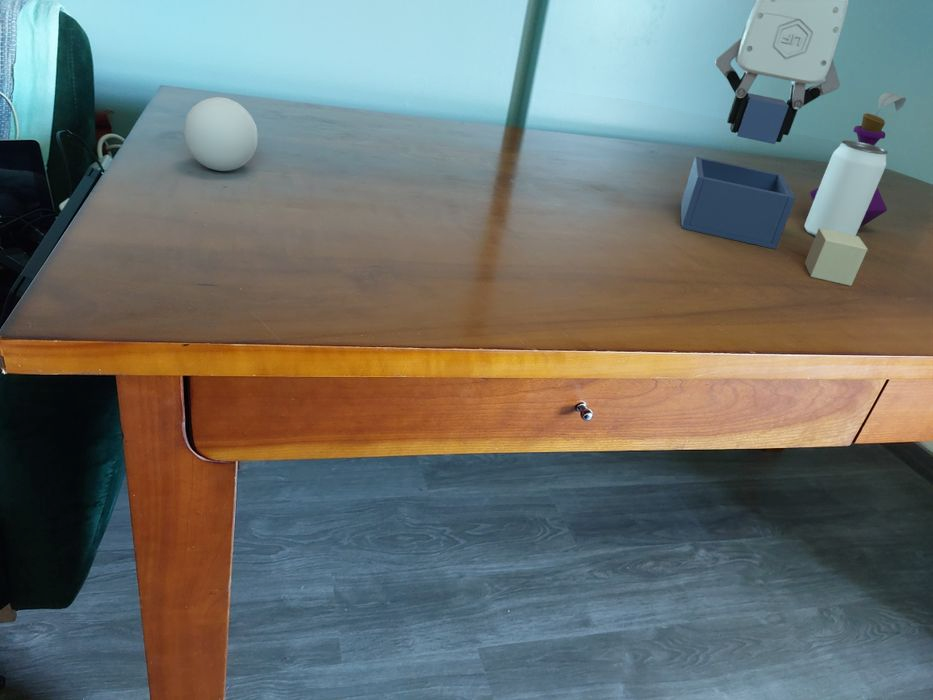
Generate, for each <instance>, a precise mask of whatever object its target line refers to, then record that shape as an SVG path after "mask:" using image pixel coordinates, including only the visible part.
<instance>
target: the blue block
mask: <svg viewBox="0 0 933 700" xmlns="http://www.w3.org/2000/svg"><path fill="white" fill-rule="evenodd" d="M747 93H748V96H747V100H748V103H747V106H746V109H745V112H744V115H743V118H742V121H741V124H740V127H739V130H738V132H736V133H735V135H736V136H737V137H739V138H744V139H748V140H754V141H757V142H758V141H759V142H763V143H767V144H772V145H775V144H776V140H777V137H778V134H779V132H780V129H781V126H782V123H783V121H784V118H785V115H786V112H787V110H788V107H789V106H788V105H787V104H786V103H787V101H785V100H784V99H779V98H775V97H769V96H765V95H759V94H755V93H751V92H747Z"/></svg>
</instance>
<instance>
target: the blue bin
mask: <svg viewBox="0 0 933 700" xmlns="http://www.w3.org/2000/svg"><path fill="white" fill-rule="evenodd" d="M795 201H796V196H795V194H794V192H793V191H792V188H791V187H790V185H789V183H788V180H786V178H785V176H784V174H781V173H778V172H777V173H776V172H772V171H768V170H762V169H757V168H753V167H747V166H743V165H738V164H733V163H729V162H724V161H719V160H716V159H715V160H714V159H710V158H705V157H700V156H694V159H693V163H692V166H691V170H690V173H689V175H688V180H687V183H686V186H685V189H684V192H683V196H682V199H681V202H680V207H681V208H680V213H681V214H680V216H681V219H680V220H681V229H683V230H688V231H692V232H697V233H701V234H705V235H709V236H713V237H714V236H715V237H718V238H723V239H728V240H733V241H736V242H741V243H745V244H750V245H754V244H755V245H754V246H759V247H762V248H767V247H768V248H769V249H772V250H777V248H778V245H779V243H780V240H781V237H782V235H783V232H784V229H785V228H786V224H787V222H788V219H789V216H790V214H791V211H792V209H793V205H794V203H795Z"/></svg>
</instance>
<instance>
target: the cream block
mask: <svg viewBox="0 0 933 700" xmlns="http://www.w3.org/2000/svg"><path fill="white" fill-rule="evenodd" d="M868 249H869V248H867V246H866V245H865V243H864V241H863V240H862V238H861V237H860V236H859V235H856V236H854V235H849V234H845V233H840V232H836V231H831V230H826V229H822V228H819V229H818V232H817V234H816V236H814V239H813V241H812V244H811V246H810V249H809V251H808V254H807V256H806V258H805V261H804V265H805V267H806V270H807V272H808V274H809V277H811V278H814V279H818V280H823V281H827V282H832V283H836V284H841V285H845V286H849V287H851V286H853V284H854V281H855V279H856V276H857V274H858V273H859V270H860V268H861V265H862V263H863V261H864V259H865V256H866V255H867V252H868Z"/></svg>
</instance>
